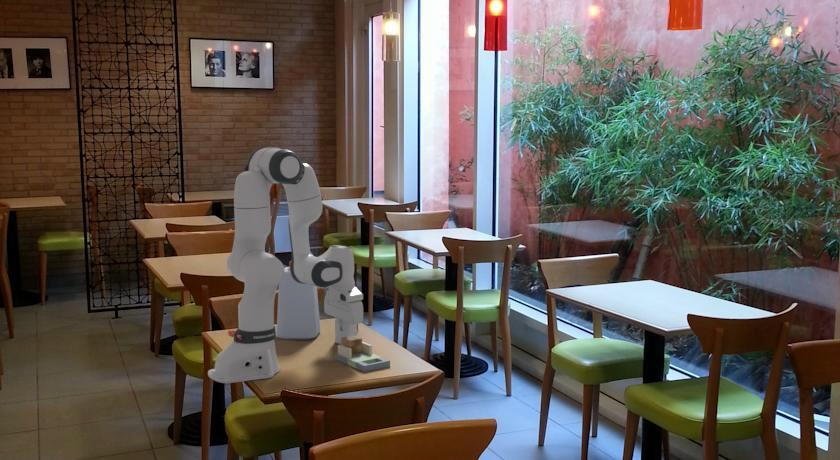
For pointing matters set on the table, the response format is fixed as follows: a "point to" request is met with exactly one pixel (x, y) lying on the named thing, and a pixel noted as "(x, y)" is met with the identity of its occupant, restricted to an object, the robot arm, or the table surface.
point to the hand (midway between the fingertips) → (343, 331)
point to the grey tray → (361, 358)
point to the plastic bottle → (297, 309)
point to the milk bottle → (351, 331)
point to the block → (353, 343)
